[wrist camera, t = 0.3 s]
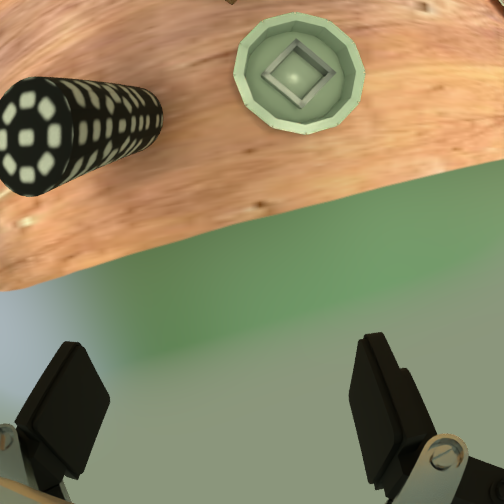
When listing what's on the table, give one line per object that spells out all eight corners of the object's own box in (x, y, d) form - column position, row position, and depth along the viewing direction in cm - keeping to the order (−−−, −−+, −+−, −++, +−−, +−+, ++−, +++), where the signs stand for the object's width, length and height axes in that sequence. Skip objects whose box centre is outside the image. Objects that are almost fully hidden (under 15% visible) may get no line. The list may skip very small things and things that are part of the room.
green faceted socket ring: (287, 6, 28) (292, -8, 23) (371, 77, 31) (387, 74, 27) (214, 82, 32) (208, 77, 28) (300, 152, 36) (307, 158, 31)
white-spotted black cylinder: (166, 86, 32) (78, 68, 14) (160, 154, 36) (74, 199, 18) (104, 88, 32) (-9, 86, 14) (100, 152, 35) (-8, 195, 17)
